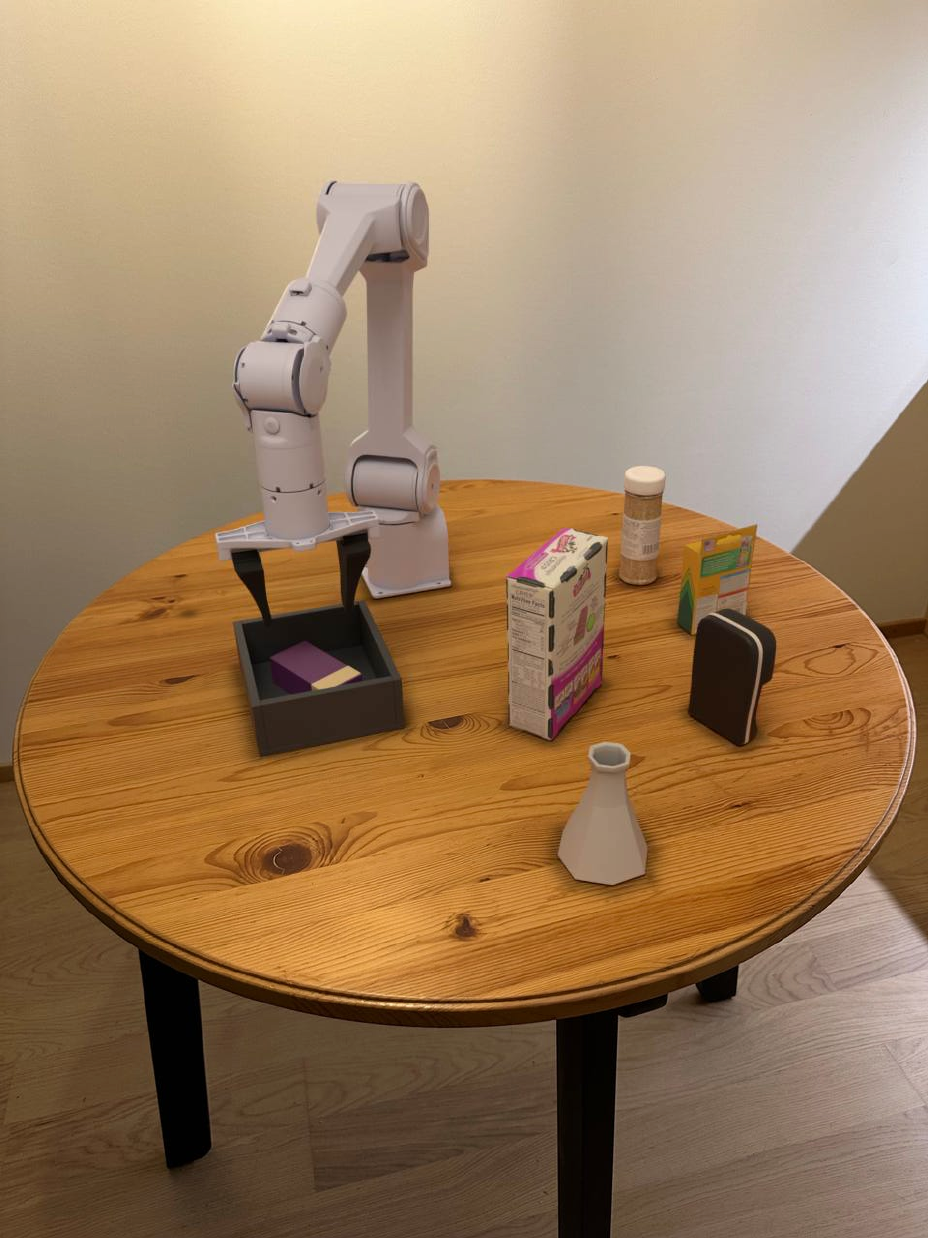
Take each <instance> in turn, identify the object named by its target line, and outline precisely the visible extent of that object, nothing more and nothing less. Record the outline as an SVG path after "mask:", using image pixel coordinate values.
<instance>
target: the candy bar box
mask: <svg viewBox="0 0 928 1238" xmlns="http://www.w3.org/2000/svg"><path fill="white" fill-rule="evenodd" d="M608 547H609V537H608V536H605V535H600V534H595V533H590V532H587V531H583V530H578V529H576V528H571V527H562V528H561V529H560V530H558V532H556V533H555V534H554V535H553V536H552V537H550V538H549V539H548V540H547V541H546V542H545V543H544V544H542V545H541V546H540V547H539V548H538V549H536V550H535V551H534V552H533V553H532V554H531V555H529V556H528V557H527V558H525V559H524V560H523V561H522V562H521V563H520V564H518V565H517V566H516V567H515V568H513V570H511V571H510V572H509V573H508V574H507V575H506V576H505V580H506V581H505V582H506V583H505V585H506V586H505V587H506V589H505V590H506V643H507V703H508V705H507V706H508V707H507V708H508V709H507V711H508V714H507V715H508V716H507V717H508V719H507V720H508V727H510V728H512V729H515V730H518V731H520V732H523V733H526V734H530V735H533V736H534V737H535V736H536V737H538V738H540V739H544V740H547V741H550V742H551V741H553V740H554V739H555V738H556V737H557V735H558V734H559V733H560V732H561V731H562V730H563V729H564V727H565V726H566V725H567V724H568V722H570V720H571V719H572V718H573V717H574V716H575V714H576V713H577V712H578V711H579V710H580V709H581V707H582V706H583V705H584V704H585V703H586V702H587V701H588V700H589V699H590V697H591V696H592V695H593V694H594V693H595V692H596V690H597V689H598V688H599V687H600V686H601V685H602V684H603V665H604V664H603V663H604V643H605V642H604V641H605V639H604V638H605V620H606V619H605V617H606V596H607V593H606V592H607V572H608V552H609V551H608Z"/></svg>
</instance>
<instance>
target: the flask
mask: <svg viewBox="0 0 928 1238" xmlns="http://www.w3.org/2000/svg"><path fill="white" fill-rule="evenodd" d="M631 756H632V754H631V752H630V751H629V750H628V749H627V747H626V746H625V745H624V744H623V743H619V742H610V741H602V742H599V743H595V744H592V745H590V746H589V751H588V755H587V761H588V763H589V764H590V765H591V767H590V776H589V779H588V782H587V786H586V788H585V790H584V791H583V793H582V796H581V798H580V799H579V801H578V803H577V805H576V807H575V809H574V811H572V814H570V815H571V816H570V817H569V818H568V820H567V821H566V824H565V826H564V827H563V830H562V833H561V838H560V841H559V845H558V846H559V847H558V851H557V856H558V858H559V860H561V862H562V863H563V865H564V866H565V867H566V869H567V870H568V871H569V873H570V874H571V876H572V877H573V879H575V880H578V881H585V882H591V883H597V884H603V885H608V886H614V885H617V884H620V883H623V882H625V881H628V880H631V879H634V878H637V877H640V876H642V875H645V874H646V869H647V868H646V867H647V858H648V849H649V848H648V845H647V842H646V839H645V836H644V833H643V831H642V828H641V826H640V824H639V821H638V818H637V816H636V813H635V809H634V806H633V804H632V801H631V798H630V795H629V791H628V790H629V789H628V785H627V784H628V783H627V776H626V770H629V768H630V764H631Z"/></svg>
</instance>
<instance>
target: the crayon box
mask: <svg viewBox="0 0 928 1238" xmlns="http://www.w3.org/2000/svg"><path fill="white" fill-rule="evenodd" d="M757 531H758V524H757V523H755V524H753V525H748V526H744V527H740V528H737V529H733V530H729V531H725V532H721V533H717V534H713V535H710V536H706V537H702V538H701V540H698V541H694V542H690V543H686V544H684V545H683V554H682V565H681V577H680V578H681V579H680V589H679V599H678V600H679V601H678V609H677V610H678V611H677V620H676V624H677V626H679V627H680V628H681V629H683V631H685V632H687V633H688V635H691V636H692V637H693V636H696V631H697V627H698V623H699V622H700V620H701V619H702V618H703V617H704V616H705V615H707V614H710V613H714V612H717V611H719V610H721V609H727V608H729V609H732V610H735V611H737V612H739V613H741V614H744V615H746V616H747V607H748V600H749V599H748V598H749V591H750V582H751V574H752V568H753V559H754V552H755V551H754V550H755V542H756V538H757Z"/></svg>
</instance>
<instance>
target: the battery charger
mask: <svg viewBox="0 0 928 1238" xmlns="http://www.w3.org/2000/svg"><path fill="white" fill-rule="evenodd" d="M776 655H777V638H776V636H775V634H774V632H773V631H772V629H770V628H769V627H767V626H766V625H764V624H762V623H761V622H759V621H757V620H755V619H753V618H751V617H750V616H748V615H747V614H746V615H744V614H741V613H739V612H737V611H735V610H732V609H729V608H727V609H721V610H719V611H717V612H714V613H710V614H707V615H705V616H704V617H703V618H702V619H701V620H700V622H699V623H698V627H697V631H696V635H695V640H694V645H693V655H692V667H691V668H692V669H691V684H690V693H689V701H688V708H687V713H688V714H689V715H691V716H692V717H693V718H695V720H697V721H699V722H701V723H702V724H704V725H705V726H707V727H709V728H710V729H711V730H712V731H714V732H715V733H718V734H719V735H721V736H722V737H724V738H725V739H727V740H729V741H730V742H733V743H734V744H735V745H738V746H742V745H745V744H747V743H749V741H751V740H752V739H754V738H755V737H756V735H757V734H758V726H757V719H756V717H757V710H758V706H759V702H760V697H761V693H762V689H763V686H764V685H767V684H768V683H769V682H771V681H772V680H773V676H774V670H775V663H776Z"/></svg>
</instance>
